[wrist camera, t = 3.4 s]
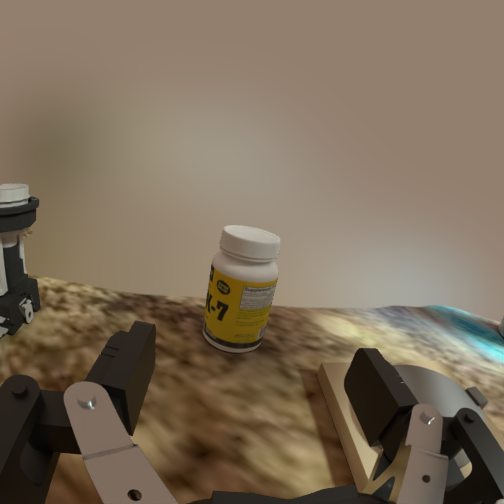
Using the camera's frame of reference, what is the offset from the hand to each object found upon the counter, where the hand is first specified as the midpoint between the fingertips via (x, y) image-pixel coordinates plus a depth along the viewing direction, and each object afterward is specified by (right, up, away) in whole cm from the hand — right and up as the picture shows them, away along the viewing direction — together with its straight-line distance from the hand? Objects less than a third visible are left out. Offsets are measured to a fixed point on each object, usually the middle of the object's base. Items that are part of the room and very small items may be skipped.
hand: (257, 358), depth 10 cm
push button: (-18, -1, +5) cm, 19 cm away
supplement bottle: (-2, -3, +11) cm, 12 cm away
